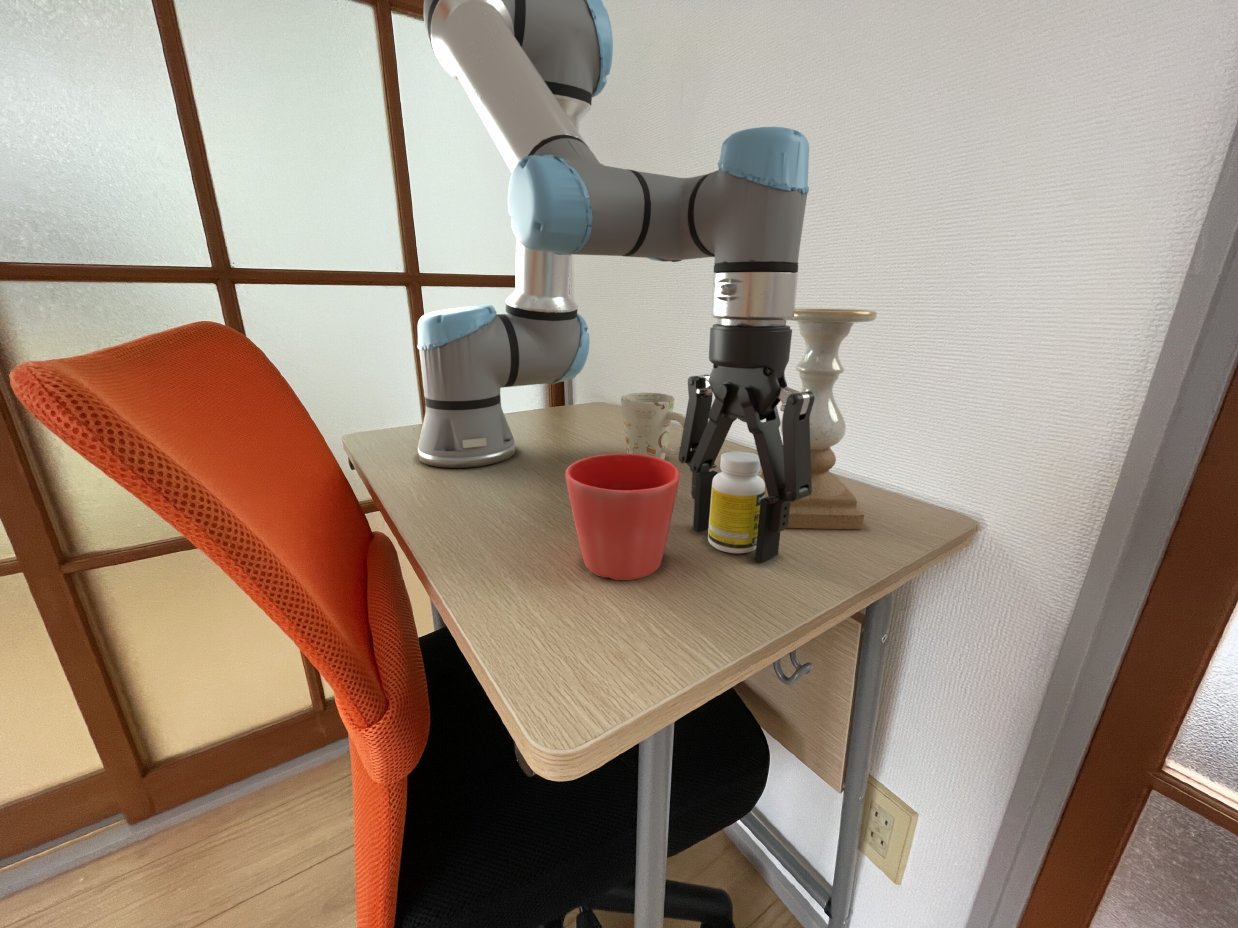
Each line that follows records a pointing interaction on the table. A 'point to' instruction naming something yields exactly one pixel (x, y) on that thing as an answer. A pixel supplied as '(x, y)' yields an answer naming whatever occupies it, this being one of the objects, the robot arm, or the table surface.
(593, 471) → the flower pot
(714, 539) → the supplement bottle
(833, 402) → the candle holder
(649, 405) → the mug
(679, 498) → the table surface
